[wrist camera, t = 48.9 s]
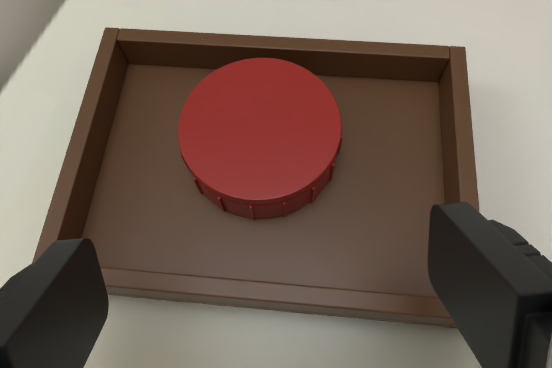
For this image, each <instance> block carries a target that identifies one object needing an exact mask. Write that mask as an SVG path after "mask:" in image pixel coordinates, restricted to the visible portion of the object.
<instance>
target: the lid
mask: <svg viewBox="0 0 552 368" xmlns="http://www.w3.org/2000/svg"><path fill="white" fill-rule="evenodd" d="M341 129H342V124H341V115H340V111H339V108H338V105H337V103H336V100H335V98H334V96H333V95H332V93H331V92H330V90H329V89H328V88H327V86H326V85H325V84H324V83H323V82H322V81H321V80H320V79H319V78H318V77H317V76H316V75H314V74H313V73H311V72H310V71H309V70H307V69H305V68H303V67H301V66H299V65H297V64H294V63H292V62H288V61H285V60H280V59H274V58H251V59H244V60H240V61H236V62H233V63H230V64H228V65H225V66H223V67H221V68H219V69H217V70H215V71H214V72H212V73H211V74H209V75H208V76H206V77H205V78H204V79H203V80H202V81H201V82H200V83H199V84H198V85H197V86H196V87H195V88H194V89H193V90H192V92H191V93H190V95H189V96H188V98H187V100H186V102H185V103H184V105H183V108H182V111H181V114H180V118H179V123H178V141H179V146H180V150H181V152H180V154H181V156H182V158H183V160H184V162H185V164H186V166H187V168H188V170H190V172H191V174H192V176H193V180H194V182H195V184H196V186H197V188H198V190H199V192H200V193H201V194H203V193H204V195H205V196H206V197H207V198H208V199H210V200H211V201H212V202H213V203H214V204H216V205H217V206H219V207H220V208H221V209H222V211H223V212H225V211H228V212H230V213H233V214H236V215H239V216H243V217H248V218H252V220H255V218H259V219H260V218H273V217H279V216H283V217H286V216H287V215H286V214H289V213H291V212H294V211H296V210H298V209H300V208H302V207H303V206H305V205H307V204H308V203H309V202H311V203H313V202H314V198H315V197H316V196H317V195H318V194H319V193H320V192H321V191H322V190H323V188H324V187H325V186H326V184H327V183H328V181H329V180H330V181H331V180H332V177H333V172H334V168H335V163H336V158H337V154H338V155H339V152H340V147H341V143H342V138H343V136H341Z"/></svg>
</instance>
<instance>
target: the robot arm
mask: <svg viewBox="0 0 552 368" xmlns="http://www.w3.org/2000/svg"><path fill="white" fill-rule="evenodd" d="M428 274H429V278H430V282H431V285H432V287H433V289H434V291H435V292H436V294H437V295H438V297H439V299H440V300H441V302H442V304H443V305H444V307H445V308H446V310H447V312H448V313H449V315H450V316H451V318H452V320H453V321H454V323H455V324H456V326H457V328H458V329H459V331H460V333H461V334H462V336H463V337H464V339H465V341H466V342H467V344H468V345H469V347H470V349H471V350H472V352H473V353H474V355H475V357H476V358H477V360H478V362H479V363H480V365H481V366H482V368H552V262H550V261H549V260H548V259H547V258H546V257H545V256H544V255H542V256H541V255H540V252H539V251H538V250H537V249H536V248H534V247H533V246H532V245H529V244H528V241H526V240H525V239H524V238H523V237H522V236H521V235H520V234H518V233H517V232H516V231H515V230H514V229H512V228H509V227H507V226H505V225H503V224H501V223H499V222H496V221H494V220H487V219H486V218H485V217H484V216H482V215H481V214H480V213H479V212H478V211H477V210H476V209H475V208H474V207H473V206H472V205H471V204H470V203H468V202H457V203H446V204H435V205H433V206H432V208H431V211H430V222H429V242H428ZM108 307H109V301H108V294H107V290H106V286H105V282H104V279H103V275H102V271H101V268H100V264H99V260H98V257H97V253H96V249H95V246H94V244H93V242H92V241H91V240H90V239H89V238H80V239H70V240H59V241H54V242H52V243H51V244H50V245H49V247H48V248H47V249H46V250H45V251H44V252H43V254H42V255H41V256H40V257H39V258H38V259H37V260H36V262H35V263H34V264H31V265H29V266H28V267H26V268H25V269H23V270H22V271H20V272H18V273H17V274H15V275H14V276H12V277H11V278H10V279H9V280H8V281H7V282H6V283H5V284H4V286H3V287H2V288H1V289H0V368H83V367H84V365H85V363H86V361H87V359H88V357H89V355H90V353H91V351H92V349H93V346H94V344H95V342H96V340H97V338H98V336H99V334H100V332H101V330H102V328H103V326H104V324H105V321H106V319H107V315H108Z"/></svg>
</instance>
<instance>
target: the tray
mask: <svg viewBox="0 0 552 368" xmlns="http://www.w3.org/2000/svg"><path fill="white" fill-rule="evenodd" d="M251 58H274V59H280V60H285V61H288V62H292V63H294V64H297V65H299V66H301V67H303V68H305V69H307V70H309V71H310V72H311V73H313V74H314V75H316V76H317V77H318V78H319V79H320V80H321V81H322V82H323V83H324V84H325V85H326V86H327V88H328V89H329V90H330V92H331V93H332V95H333V96H334V98H335V100H336V103H337V105H338V108H339V111H340V115H341V124H342V129H341V136H343V138H342V143H341V147H340V152H339V155H338V154H337V158H336V163H335V168H334V172H333V177H332V180H331V181H330V180H329V181H328V183H327V184H326V186H325V187H324V188H323V190H322V191H321V192H320V193H319V194H318V195H317V196H316V197H315V198H314V202H313V203H311V202H309V203H308V204H307V205H305V206H303V207H302V208H300V209H298V210H296V211H294V212H291V213H289V214H286V215H287V216H286V217H283V216H279V217H273V218H260V219H259V218H255V220H252V218H248V217H243V216H239V215H236V214H233V213H230V212H228V211H225V212H223V211H222V209H221V208H220V207H219V206H217V205H216V204H214V203H213V202H212V201H211V200H210V199H208V198H207V197H206V196H205V195H204V193H203V194H201V193H200V192H199V190H198V188H197V186H196V184H195V182H194V180H193V176H192V174H191V172H190V170H188V168H187V166H186V164H185V162H184V160H183V158H182V156H181V154H180V152H181V150H180V146H179V141H178V123H179V118H180V114H181V111H182V108H183V105H184V103H185V102H186V100H187V98H188V96H189V95H190V93H191V92H192V90H193V89H194V88H195V87H196V86H197V85H198V84H199V83H200V82H201V81H202V80H203V79H204V78H205V77H206V76H208V75H209V74H211V73H212V72H214V71H215V70H217V69H219V68H221V67H223V66H225V65H228V64H230V63H233V62H236V61H240V60H244V59H251ZM457 202H468V203H470V204H471V205H472V206H473V207H474V208H475V209H476V210H477V211H478V212H479V202H478V191H477V179H476V167H475V156H474V144H473V132H472V121H471V109H470V98H469V86H468V74H467V63H466V51H465V47H456V46H450V47H449V46H439V45H420V44H401V43H383V42H364V41H345V40H327V39H308V38H289V37H271V36H252V35H233V34H215V33H196V32H177V31H159V30H140V29H119V28H105V30H104V33H103V36H102V40H101V43H100V46H99V49H98V52H97V56H96V59H95V62H94V65H93V69H92V72H91V75H90V78H89V81H88V85H87V88H86V91H85V94H84V98H83V101H82V104H81V107H80V110H79V114H78V117H77V120H76V123H75V127H74V130H73V133H72V136H71V139H70V143H69V146H68V149H67V152H66V156H65V159H64V162H63V165H62V168H61V172H60V175H59V178H58V181H57V185H56V188H55V191H54V194H53V197H52V201H51V204H50V207H49V210H48V214H47V217H46V220H45V223H44V226H43V230H42V233H41V236H40V239H39V243H38V246H37V249H36V252H35V255H34V259H33V262H32V264H34V263H35V262H36V260H37V259H38V258H39V257H40V256H41V255H42V254H43V252H44V251H45V250H46V249H47V248H48V247H49V245H50V244H51V243H52V242H54V241H59V240H70V239H80V238H89V239H90V240H91V241H92V242H93V244H94V246H95V249H96V253H97V257H98V260H99V264H100V268H101V271H102V275H103V279H104V282H105V286H106V290H107V294H108V295H118V296H128V297H139V298H150V299H160V300H171V301H181V302H192V303H202V304H213V305H224V306H234V307H245V308H255V309H266V310H276V311H287V312H298V313H308V314H319V315H329V316H340V317H350V318H361V319H372V320H382V321H393V322H403V323H414V324H424V325H435V326H446V327H456V328H457V326H456V324H455V323H454V321H453V320H452V318H451V316H450V315H449V313H448V312H447V310H446V308H445V307H444V305H443V304H442V302H441V300H440V299H439V297H438V295H437V294H436V292H435V291H434V289H433V287H432V285H431V282H430V278H429V274H428V242H429V222H430V211H431V208H432V206H433V205H435V204H446V203H457Z"/></svg>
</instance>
